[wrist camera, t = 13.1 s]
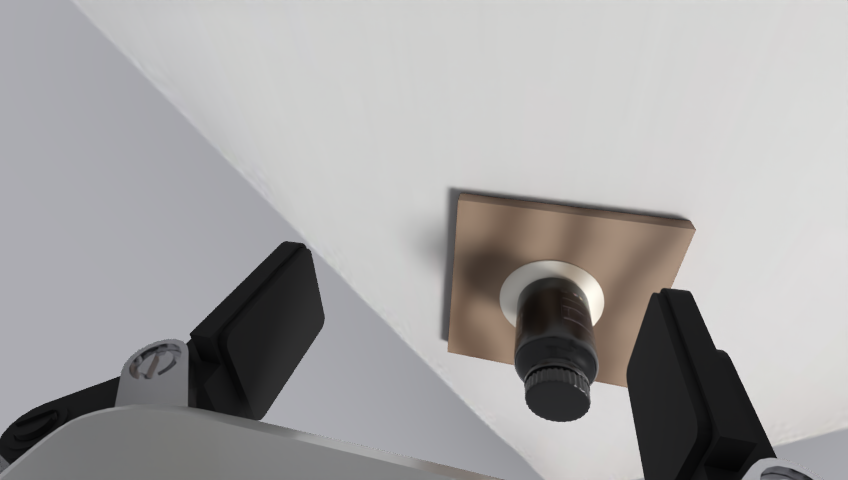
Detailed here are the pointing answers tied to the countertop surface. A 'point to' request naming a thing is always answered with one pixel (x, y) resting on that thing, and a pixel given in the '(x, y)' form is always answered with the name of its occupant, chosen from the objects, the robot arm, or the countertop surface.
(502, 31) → the countertop surface
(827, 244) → the countertop surface
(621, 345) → the walnut board
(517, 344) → the supplement bottle
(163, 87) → the countertop surface
